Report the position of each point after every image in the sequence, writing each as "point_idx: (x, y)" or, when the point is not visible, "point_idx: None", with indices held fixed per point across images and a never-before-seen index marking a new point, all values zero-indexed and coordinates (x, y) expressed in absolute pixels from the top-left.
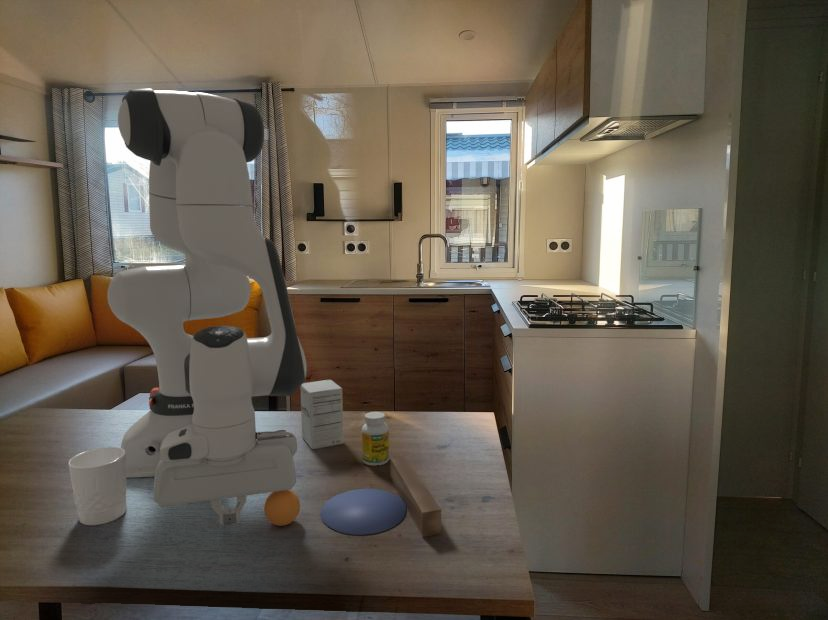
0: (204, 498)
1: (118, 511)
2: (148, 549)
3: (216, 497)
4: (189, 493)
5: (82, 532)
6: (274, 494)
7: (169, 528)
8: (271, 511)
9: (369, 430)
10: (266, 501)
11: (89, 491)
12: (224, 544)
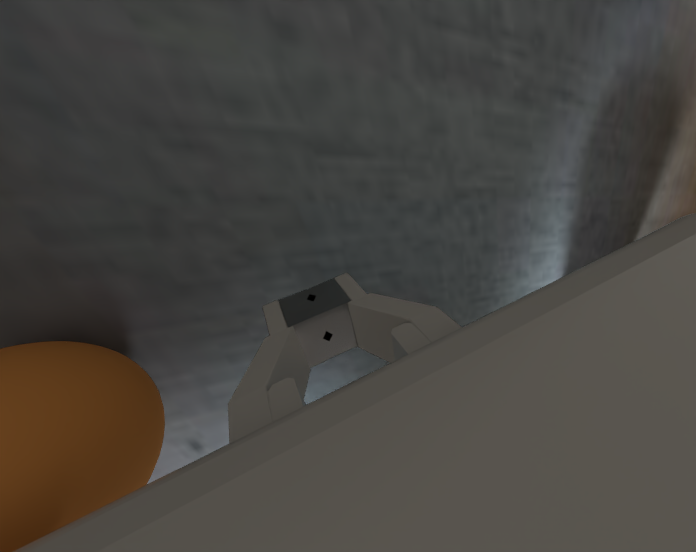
0: (530, 310)
1: None
2: (522, 165)
3: (452, 345)
4: (676, 299)
5: (622, 237)
6: (14, 544)
7: (479, 273)
8: (29, 393)
9: None
10: (114, 455)
11: None
12: (292, 195)
